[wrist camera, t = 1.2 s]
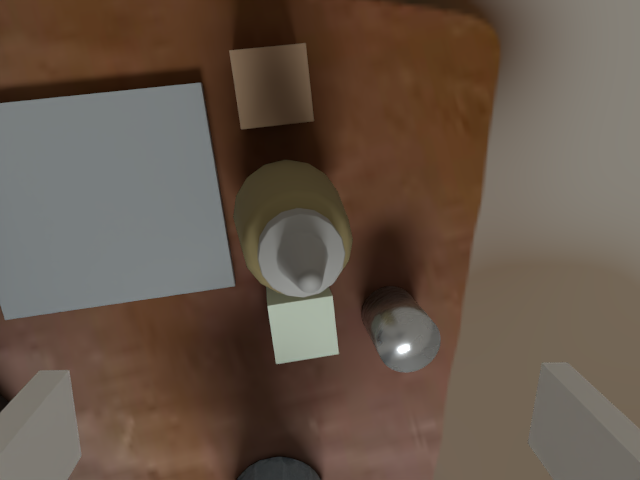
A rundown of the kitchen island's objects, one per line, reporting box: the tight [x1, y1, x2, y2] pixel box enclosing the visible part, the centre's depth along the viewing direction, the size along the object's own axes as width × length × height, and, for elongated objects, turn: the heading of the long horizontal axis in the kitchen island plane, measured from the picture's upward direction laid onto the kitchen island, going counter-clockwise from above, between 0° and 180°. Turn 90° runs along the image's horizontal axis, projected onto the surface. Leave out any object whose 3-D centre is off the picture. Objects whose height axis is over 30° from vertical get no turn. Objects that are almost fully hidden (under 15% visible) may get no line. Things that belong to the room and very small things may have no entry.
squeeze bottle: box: [233, 160, 353, 297], centre depth 30 cm, size 8×8×18 cm
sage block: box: [266, 287, 339, 364], centre depth 38 cm, size 5×5×5 cm
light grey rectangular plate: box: [0, 83, 235, 320], centre depth 36 cm, size 18×16×1 cm
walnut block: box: [229, 43, 314, 129], centre depth 33 cm, size 5×5×5 cm
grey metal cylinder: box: [362, 286, 440, 372], centre depth 39 cm, size 5×5×6 cm
